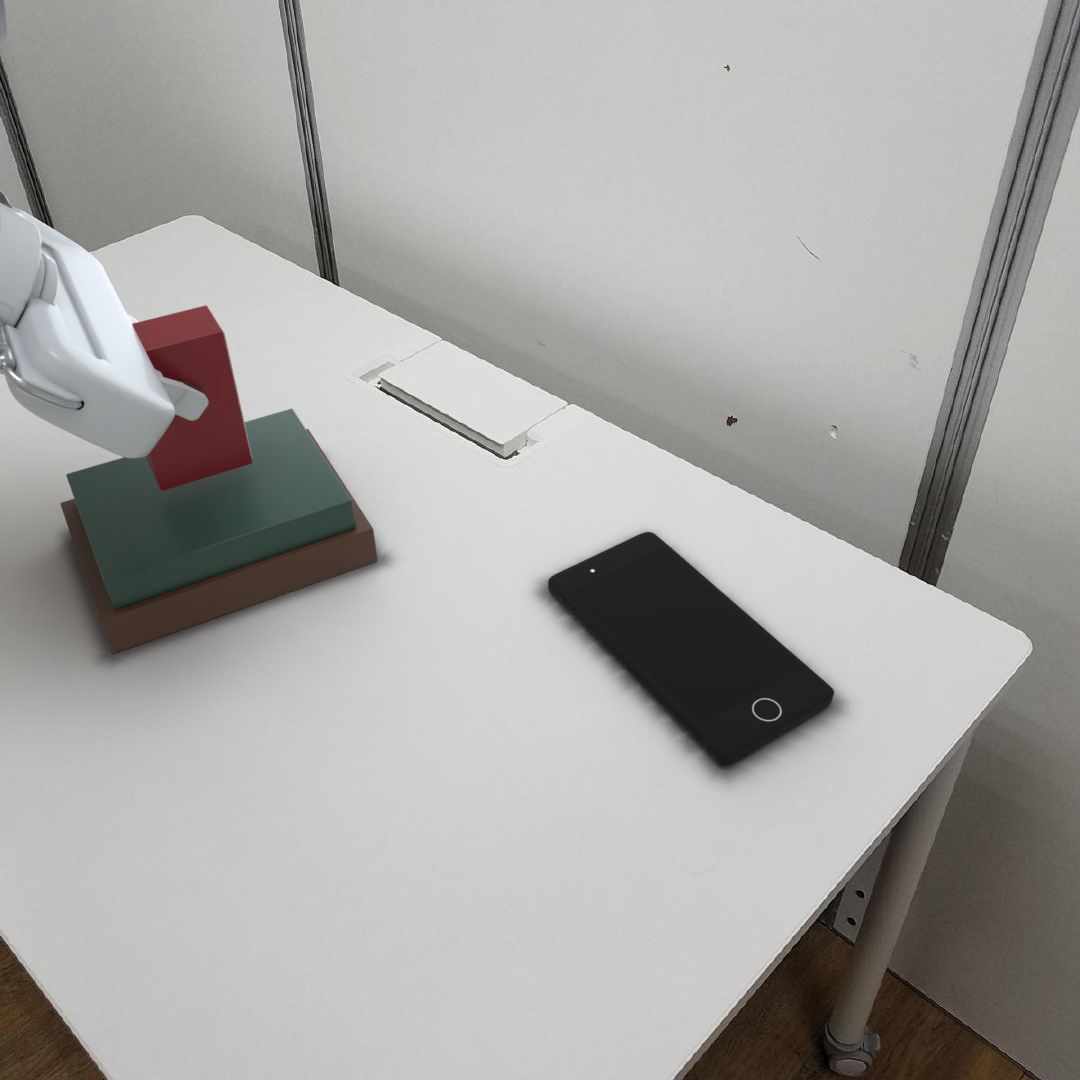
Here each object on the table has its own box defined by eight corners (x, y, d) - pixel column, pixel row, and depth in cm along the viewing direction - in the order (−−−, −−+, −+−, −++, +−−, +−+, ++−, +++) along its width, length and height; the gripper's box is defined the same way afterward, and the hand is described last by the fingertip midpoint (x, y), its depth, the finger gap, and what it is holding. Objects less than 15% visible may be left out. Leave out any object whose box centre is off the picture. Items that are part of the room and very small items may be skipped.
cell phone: (723, 771, 63) (725, 760, 62) (544, 588, 74) (544, 578, 74) (835, 702, 67) (838, 692, 66) (649, 538, 78) (649, 528, 77)
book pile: (112, 654, 70) (88, 592, 67) (72, 535, 79) (48, 474, 75) (378, 561, 77) (369, 499, 73) (313, 460, 85) (303, 400, 82)
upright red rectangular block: (161, 491, 71) (121, 357, 64) (147, 462, 73) (107, 329, 66) (254, 463, 73) (225, 330, 66) (238, 435, 75) (208, 303, 69)
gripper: (32, 323, 52) (270, 433, 62) (-29, 163, 65) (175, 275, 75) (-36, 429, 53) (207, 520, 63) (-82, 251, 67) (125, 349, 77)
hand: (189, 385), depth 69 cm, fingers closed on upright red rectangular block, 3 cm apart
